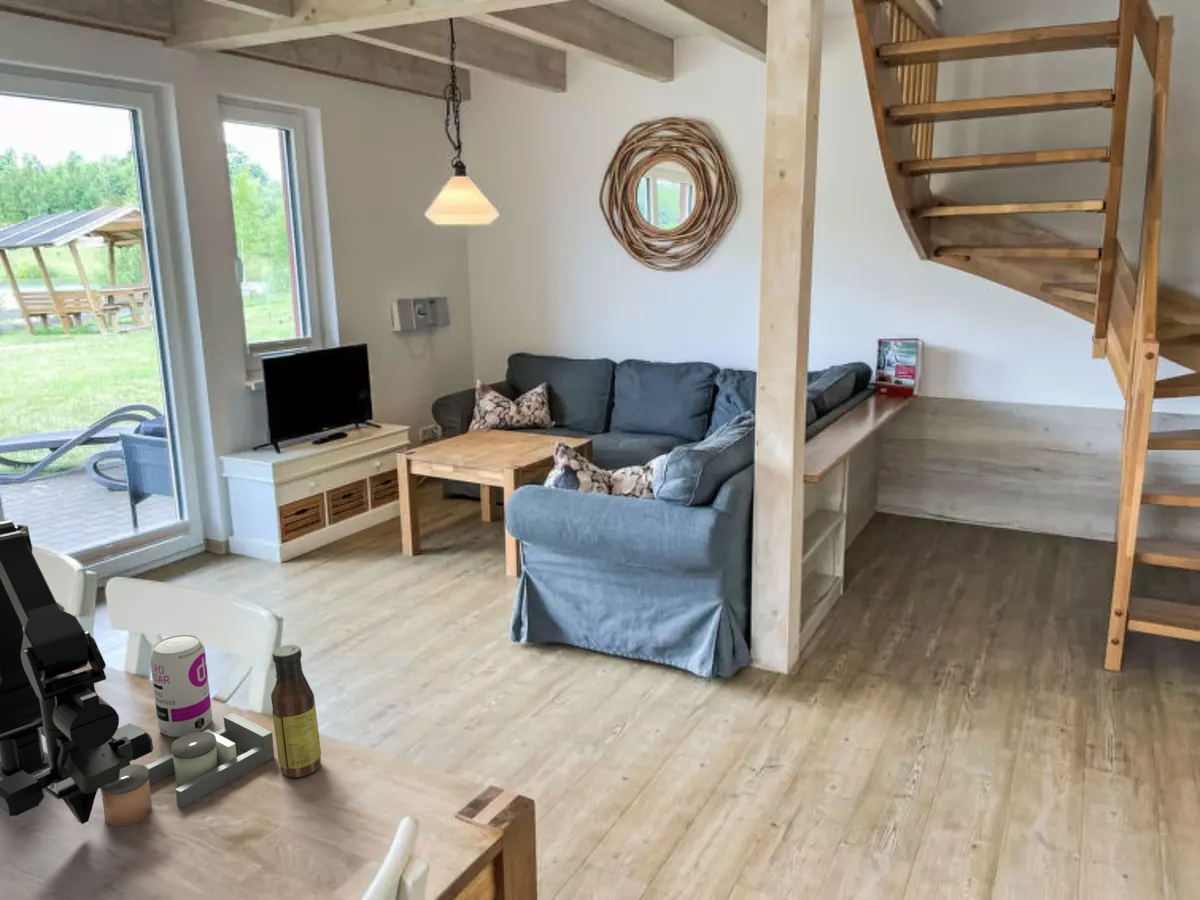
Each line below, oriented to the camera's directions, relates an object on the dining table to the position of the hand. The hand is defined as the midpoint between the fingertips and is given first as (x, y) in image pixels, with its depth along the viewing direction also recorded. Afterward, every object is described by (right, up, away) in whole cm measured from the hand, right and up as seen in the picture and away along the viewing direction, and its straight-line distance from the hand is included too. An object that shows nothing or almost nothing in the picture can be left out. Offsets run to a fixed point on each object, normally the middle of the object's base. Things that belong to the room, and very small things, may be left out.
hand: (83, 821), depth 125 cm
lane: (+10, +2, +15) cm, 18 cm away
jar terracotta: (+3, -1, +5) cm, 6 cm away
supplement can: (+1, +4, +28) cm, 28 cm away
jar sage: (+10, +1, +14) cm, 17 cm away
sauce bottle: (+24, +2, +16) cm, 29 cm away
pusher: (+12, +2, +17) cm, 21 cm away
